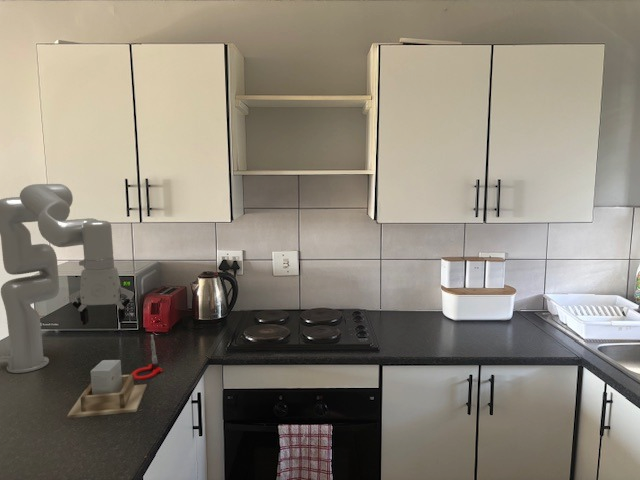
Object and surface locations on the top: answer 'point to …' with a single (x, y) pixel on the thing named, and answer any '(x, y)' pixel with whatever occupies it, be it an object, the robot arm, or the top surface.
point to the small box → (106, 377)
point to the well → (109, 400)
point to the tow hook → (153, 365)
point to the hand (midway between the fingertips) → (103, 322)
